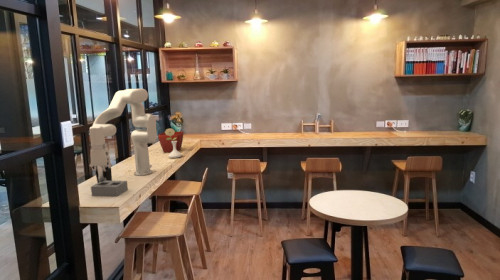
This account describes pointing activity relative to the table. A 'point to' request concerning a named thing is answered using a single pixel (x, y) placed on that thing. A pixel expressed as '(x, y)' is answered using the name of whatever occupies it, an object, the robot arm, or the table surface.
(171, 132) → the flower in vase
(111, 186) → the hole block
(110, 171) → the pen holder
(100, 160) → the robot arm
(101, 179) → the steel pin
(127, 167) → the table surface
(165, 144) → the plant pot
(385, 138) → the table surface
